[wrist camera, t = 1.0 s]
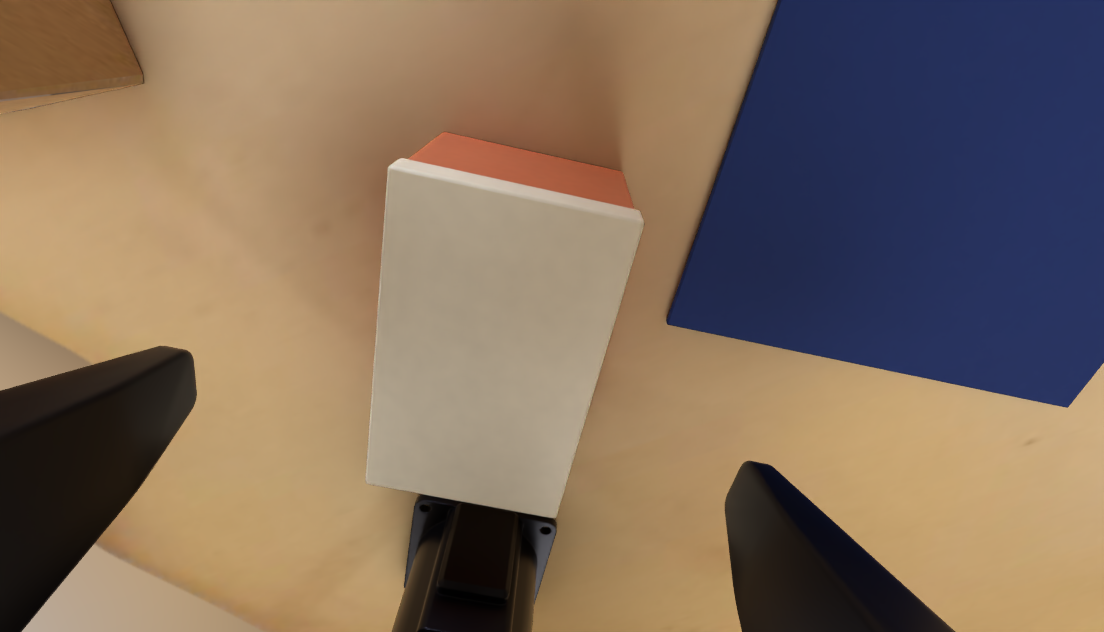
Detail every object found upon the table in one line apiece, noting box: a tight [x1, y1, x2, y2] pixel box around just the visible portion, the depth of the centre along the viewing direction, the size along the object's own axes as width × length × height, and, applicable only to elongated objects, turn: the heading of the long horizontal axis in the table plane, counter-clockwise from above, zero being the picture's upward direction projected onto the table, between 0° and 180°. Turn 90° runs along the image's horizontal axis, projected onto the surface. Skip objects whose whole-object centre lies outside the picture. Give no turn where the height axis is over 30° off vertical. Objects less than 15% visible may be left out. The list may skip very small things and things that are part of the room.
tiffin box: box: [365, 132, 644, 518], centre depth 18 cm, size 10×6×6 cm, turn 168°
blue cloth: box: [666, 0, 1104, 408], centre depth 17 cm, size 16×16×1 cm
